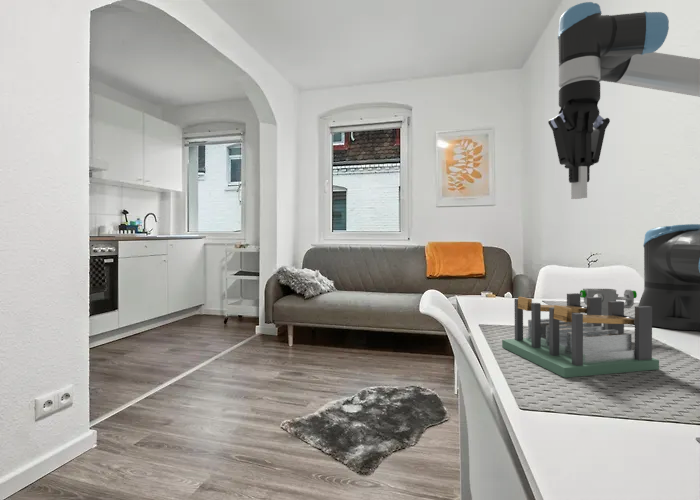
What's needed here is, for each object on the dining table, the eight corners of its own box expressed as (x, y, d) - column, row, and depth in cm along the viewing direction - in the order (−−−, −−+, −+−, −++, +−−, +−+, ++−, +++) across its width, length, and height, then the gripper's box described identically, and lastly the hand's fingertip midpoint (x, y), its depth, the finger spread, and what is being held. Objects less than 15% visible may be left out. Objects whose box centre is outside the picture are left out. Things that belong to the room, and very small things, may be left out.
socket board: (579, 341, 79) (579, 334, 79) (659, 369, 62) (659, 359, 62) (502, 347, 76) (502, 339, 76) (564, 377, 59) (564, 368, 59)
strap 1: (579, 311, 77) (579, 298, 77) (593, 314, 73) (594, 301, 73) (516, 308, 74) (517, 296, 74) (528, 312, 71) (529, 299, 71)
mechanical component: (638, 338, 80) (638, 290, 80) (583, 337, 82) (583, 290, 82) (631, 335, 83) (631, 288, 83) (578, 333, 85) (578, 288, 85)
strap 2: (622, 321, 67) (623, 307, 67) (641, 326, 63) (642, 311, 63) (552, 319, 65) (553, 304, 65) (567, 323, 61) (568, 308, 61)
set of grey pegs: (577, 335, 78) (577, 293, 78) (652, 359, 62) (652, 306, 62) (514, 339, 76) (514, 296, 76) (576, 365, 60) (576, 311, 60)
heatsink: (567, 336, 77) (567, 316, 77) (634, 359, 62) (634, 334, 62) (526, 339, 76) (526, 319, 76) (585, 363, 61) (585, 338, 61)
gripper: (592, 93, 86) (592, 200, 87) (539, 90, 84) (539, 200, 85) (621, 79, 79) (621, 196, 79) (564, 76, 76) (564, 196, 77)
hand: (579, 198), depth 82 cm, fingers closed
